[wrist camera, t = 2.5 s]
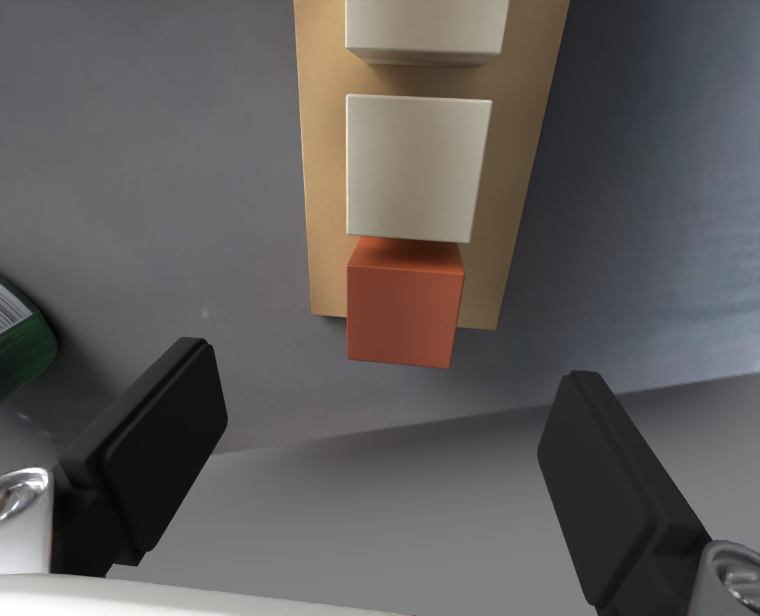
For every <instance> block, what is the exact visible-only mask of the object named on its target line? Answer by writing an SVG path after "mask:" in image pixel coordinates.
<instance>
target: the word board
mask: <svg viewBox="0 0 760 616" xmlns="http://www.w3.org/2000/svg"><path fill="white" fill-rule="evenodd" d="M569 4H570V0H294V13H295V31H296V49H297V66H298V84H299V101H300V119H301V137H302V154H303V172H304V189H305V207H306V224H307V242H308V260H309V277H310V295H311V312H312V315H322V316H334V317H345V318H347V264H348V262H349V260H350V257H351V255H352V253H353V251H354V249H355V247H356V245H357V243H358V241H359V239H360V237H361V236H369V237H383V238H397V239H412V240H426V241H440V242H454V243H458V247H459V251H460V255H461V260H462V264H463V268H464V272H465V280H464V286H463V292H462V298H461V304H460V310H459V316H458V322H457V327H460V328H472V329H483V330H496V329H497V324H498V320H499V315H500V311H501V306H502V302H503V297H504V293H505V289H506V284H507V280H508V275H509V271H510V266H511V262H512V257H513V253H514V249H515V244H516V240H517V235H518V231H519V226H520V222H521V217H522V213H523V209H524V204H525V200H526V195H527V191H528V186H529V182H530V177H531V173H532V168H533V164H534V160H535V155H536V151H537V146H538V142H539V137H540V133H541V128H542V124H543V120H544V115H545V111H546V106H547V102H548V97H549V93H550V88H551V84H552V80H553V75H554V71H555V66H556V62H557V57H558V53H559V48H560V44H561V40H562V35H563V31H564V26H565V22H566V17H567V13H568V8H569Z"/></svg>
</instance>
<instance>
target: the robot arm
mask: <svg viewBox="0 0 760 616" xmlns="http://www.w3.org/2000/svg"><path fill="white" fill-rule="evenodd" d="M227 422H228V416H227V411H226V406H225V401H224V397H223V392H222V387H221V382H220V378H219V373H218V368H217V363H216V359H215V354H214V349H213V347H212V345H210V344H208V343H207V341H206V340H205V339H202V338H191V337H181V338H180V339H178V340H177V341H176V342H175V343H174V344H173V345H172V346H171V347H170V348H169V349H168V350H167V351H166V352H165V353H164V354H163V355H162V356H161V357H160V358H159V359H158V360H157V361H156V362H155V363H154V364H153V365H151V366H150V367H149V368H148V369H147V370H146V371H145V372H144V373H143V374H142V375H141V376H140V377H139V378H138V379H137V380H136V381H135V382H134V383H133V384H132V385H131V386H130V387H129V388H128V389H127V390H126V391H125V392H124V393H123V394H122V395H121V396H119V397H118V398H117V399H116V400H115V401H114V402H113V403H112V404H111V405H110V406H109V407H108V408H107V409H106V410H105V411H104V412H103V413H102V414H101V415H100V416H99V417H98V418H97V419H96V420H95V421H94V422H93V423H92V424H91V425H90V426H89V427H87V428H86V429H85V430H84V431H83V432H82V433H81V434H80V435H79V436H78V437H77V438H76V439H75V440H74V441H73V442H72V443H71V444H70V445H69V446H68V447H67V448H66V449H65V450H64V451H63V452H62V453H61V454H60V455H59V456H58V457H57V460H58V463H57V464H56V465H55V466H54V467H53V468H52V469H51V470H49V469H48V468H47V467H43V466H38V465H34V466H24V467H20V468H17V469H13V470H10V471H7V472H5V473H3V474H0V616H414V615H406V614H398V613H390V612H382V611H374V610H367V609H359V608H351V607H343V606H335V605H327V604H319V603H311V602H302V601H294V600H287V599H279V598H271V597H263V596H255V595H247V594H238V593H230V592H222V591H213V590H205V589H197V588H189V587H180V586H172V585H163V584H155V583H147V582H136V581H127V580H116V579H107V578H106V574H107V572H108V571H109V569H110V568H111V566H112V565H113V563H114V564H120V565H128V566H138V564H139V562H140V561H141V560H142V558H143V556H144V555H145V553H146V552H149V551H151V550H152V549H153V548H154V547H155V546H156V545H157V543H158V542H159V540H160V538H161V537H162V535H163V533H164V531H165V530H166V528H167V527H168V525H169V523H170V521H171V520H172V518H173V517H174V515H175V513H176V511H177V510H178V508H179V506H180V505H181V503H182V501H183V500H184V498H185V496H186V495H187V493H188V491H189V490H190V488H191V486H192V485H193V483H194V481H195V480H196V478H197V476H198V475H199V473H200V471H201V469H202V468H203V466H204V465H205V463H206V461H207V459H208V458H209V456H210V455H211V453H212V451H213V450H214V448H215V446H216V445H217V443H218V441H219V440H220V438H221V436H222V434H223V433H224V431H225V429H226V426H227ZM537 455H538V461H539V465H540V468H541V471H542V473H543V476H544V479H545V482H546V485H547V488H548V491H549V494H550V497H551V499H552V503H553V505H554V509H555V512H556V514H557V517H558V520H559V523H560V526H561V529H562V532H563V535H564V538H565V541H566V543H567V547H568V550H569V552H570V555H571V558H572V561H573V564H574V567H575V570H576V573H577V576H578V579H579V582H580V585H581V588H582V591H583V593H584V596H585V599H586V600H587V602H588V603H589V604H590V605H592V606H595V608H596V611H597V614H598V616H760V553H758V552H756V551H754V550H752V549H750V548H748V547H746V546H744V545H741V544H738V543H735V542H731V541H727V540H715V541H713V540H712V539H711V537H710V536H709V534H708V533H707V531H706V530H705V528H704V526H703V524H702V523H701V521H700V520H699V519H698V518H697V516H696V514H695V513H694V511H693V510H692V508H691V507H690V505H689V504H688V502H687V501H686V499H685V498H684V497H683V495H682V494H681V492H680V491H679V489H678V488H677V486H676V485H675V483H674V482H673V480H672V479H671V478H670V476H669V475H668V473H667V472H666V470H665V469H664V467H663V466H662V464H661V463H660V462H659V460H658V459H657V457H656V456H655V454H654V453H653V451H652V450H651V448H650V447H649V445H648V444H647V443H646V441H645V440H644V438H643V437H642V435H641V434H640V432H639V431H638V429H637V428H636V427H635V425H634V423H633V422H632V421H631V419H630V418H629V416H628V415H627V413H626V412H625V410H624V409H623V407H622V406H621V404H620V403H619V402H618V400H617V399H616V397H615V396H614V394H613V393H612V391H611V390H610V388H609V387H608V385H607V384H606V382H605V381H604V380H603V378H602V377H601V375H600V374H599V373H597V372H590V371H578V370H573V371H571V372H570V374H569V375H564V376H563V377H562V379H561V382H560V385H559V388H558V391H557V394H556V397H555V400H554V402H553V405H552V409H551V412H550V414H549V417H548V420H547V423H546V426H545V428H544V432H543V434H542V437H541V440H540V443H539V446H538V452H537Z"/></svg>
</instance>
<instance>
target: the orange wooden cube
mask: <svg viewBox="0 0 760 616" xmlns="http://www.w3.org/2000/svg"><path fill="white" fill-rule="evenodd" d="M464 280H465V272H464V268H463V264H462V260H461V255H460V251H459V247H458V243H454V242H440V241H426V240H412V239H397V238H383V237H369V236H361V237H360V239H359V241H358V243H357V245H356V247H355V249H354V251H353V253H352V255H351V257H350V260H349V262H348V264H347V359H349V360H359V361H370V362H380V363H391V364H401V365H412V366H422V367H433V368H443V369H449V368H450V365H451V359H452V353H453V347H454V341H455V335H456V328H457V322H458V316H459V310H460V304H461V298H462V292H463V286H464Z"/></svg>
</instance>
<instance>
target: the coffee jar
mask: <svg viewBox="0 0 760 616" xmlns="http://www.w3.org/2000/svg"><path fill="white" fill-rule="evenodd" d="M57 351H58V344H57V341H56V339H55V337H54V334H53V332H52V331H51V329H50V327H49V326H48V324H47V323H46V321H45V319H44V317H43V315H42V313H41V312H40V311H39V309H38V308H37V307H36V306H35V305H34V304H33V303H32V302H31V301H30V300H29V299H28V298H27V297H26V296H25V295H24V294H22V293H21V292H20V291H19V290H18V289H17V288H16V287H14V286H13V285H12V284H11V283H9V282H8V281H6V280H4V279H2V278H1V277H0V404H1V403H2V402H4V401H5V400H6V399H8V398H9V397H11V396H12V395H13V394H15V393H16V392H17V391H19V390H20V389H21V388H23V387H24V386H26V385H27V384H28V383H30V382H31V381H32V380H34V379H35V378H37V377H38V376H39V375H40V374H42V373H43V372H44V371H45V370H46V369H47V368H48V367H49V366H50V365H51V364H52V362H53V361H54V359H55V358H56V355H57Z"/></svg>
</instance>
